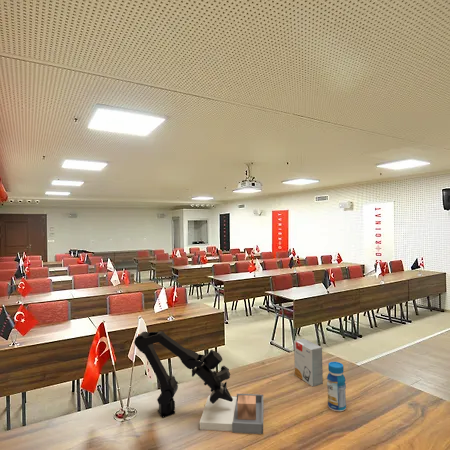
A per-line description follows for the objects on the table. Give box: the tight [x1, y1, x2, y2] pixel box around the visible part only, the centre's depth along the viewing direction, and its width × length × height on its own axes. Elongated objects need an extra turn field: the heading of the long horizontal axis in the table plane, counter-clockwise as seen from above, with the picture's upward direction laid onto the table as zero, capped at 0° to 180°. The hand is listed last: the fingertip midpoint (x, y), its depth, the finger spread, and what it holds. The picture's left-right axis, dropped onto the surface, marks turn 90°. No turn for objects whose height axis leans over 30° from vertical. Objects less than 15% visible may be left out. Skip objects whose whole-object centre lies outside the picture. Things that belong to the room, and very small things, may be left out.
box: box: [231, 393, 265, 435], centre depth 146 cm, size 13×24×4 cm, turn 173°
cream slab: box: [199, 394, 237, 432], centre depth 147 cm, size 14×22×3 cm, turn 173°
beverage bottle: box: [326, 361, 347, 412], centre depth 151 cm, size 8×8×20 cm
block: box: [237, 395, 256, 420], centre depth 146 cm, size 7×7×8 cm
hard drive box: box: [293, 338, 324, 387], centre depth 179 cm, size 16×8×20 cm, turn 25°
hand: (232, 400), depth 146 cm, fingers closed
